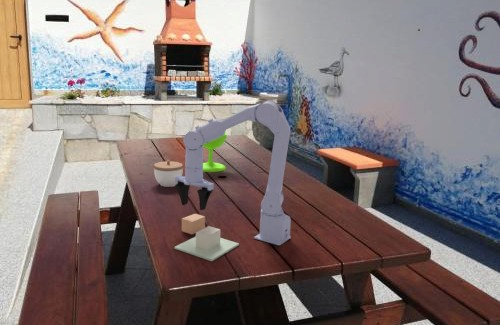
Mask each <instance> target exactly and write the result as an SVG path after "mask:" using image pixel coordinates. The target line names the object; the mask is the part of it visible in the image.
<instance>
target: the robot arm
mask: <svg viewBox="0 0 500 325" xmlns="http://www.w3.org/2000/svg"><path fill="white" fill-rule="evenodd" d="M246 121H249V122H254V123H255V122H257V121H258V122H259V123H260V124H262V125H263V126H265V127H267V128H268V129H269V130H270V131H271V132H272V133H273V135H274V137H273V143H272V144H273V145H272V151H271V158H270V165H269V171H268V180H267V185H266V190H265V194H264V197H263V199H262V200H261V202H260V220H259V233H258V234H257V235H255V236H253V238H254V239H255V240H259V241H262V242H265V243H268V244H272V245H275V246H281V245H283V244H284V243H286V242H287V241H288V240H289V239H291V238H292V237H291V227H292V226H291V224H292V220H291V216H289V215H287V214H286V213H284V210H283V207H282V204H283V202H284V199H285V198H284V197H285V196H284V193H283V182H284V175H285V168H286V164H287V156H288V155H287V154H288V151H289V150H288V148H289V143H290V142H289V141H290V136H291V135H290V134H291V127H290V124H289V122H288V120H287V117H286V115H285V113H284V110H283V108H282V107H281V106H280V105H279V104H278V103H277V102H276V101H273V100H266V101H264V102H263V103H258V104H257V103H256V104H254V105H251V106H248V107H246V108H244V109H242V110H240V111H238V112H237V113H234V114H233V115H230V116H228V117H227V118H225V119H222V120H221V119H218V118H215V119H213V118H211V119H209V120H208V122H207V123H205V124H202V125H201V126H199V125H197V126H196V127H194V128H195V129H194V128H193V129H191V130H189V131H187V133H185V135H184V136H183V139H182V140H183V144H184V146H185V153H184V154H185V155H184V157H185V158H184V159H185V162H184V163H185V164H184V165H185V166H184V167H185V168H184V169H185V170H184V171H185V172H184V173H185V175H184V176H183V175H182V176H176V177H175V182H177V184H176V185H175V186H174V187H175V189H176V191H177V193H178V195H179V199H180V202H181V206H185V205H188V202H189V190H190V186H193V187H197V188H200V189H197V194H198V199H199V211H203V210H205V209H206V207H207V204H208V201H209V198H210V197H211V195H212V193H213V191H214V186H215V184H214V182H213V183H212V182H210V181H208V180H206V179H204V171H203V163H204V147H203V144H204V143H209V142H211V141H213V140H215V139H217V138H219V137H221V136H224V134H225V133H226V130H229V129H231V128H233V127H235V126H238V125H239V124H242V123H245V122H246Z"/></svg>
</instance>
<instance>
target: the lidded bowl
mask: <svg viewBox="0 0 500 325" xmlns="http://www.w3.org/2000/svg"><path fill="white" fill-rule="evenodd" d="M183 168H184V165H183V163H181V162H178V161H170V159H167V160H165V161H159V162H156V163H153V170H154V171H153V174H154V177H155V180H156V181H157V182H156V183H158V184H160V186H161V187H166V188H167V187H168V188H169V187H170V188H171V187H175V185H176V184H177V182H175V177H176V176H183Z"/></svg>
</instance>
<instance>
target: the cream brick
mask: <svg viewBox="0 0 500 325" xmlns="http://www.w3.org/2000/svg"><path fill="white" fill-rule="evenodd" d="M195 237H196V247H199V248H202V249H205V250H209V249H211V248H212V247H214V246H216V245H218V244H220V238H221V229H220V228H216V227H213V226H209V225H208V226H205V228H204V229H202V230H200V231H198V232H196V233H195Z"/></svg>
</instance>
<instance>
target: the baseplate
mask: <svg viewBox="0 0 500 325" xmlns="http://www.w3.org/2000/svg"><path fill="white" fill-rule="evenodd" d="M239 246H240V243H239V242H237V241H232V240H229V239H226V238H223V237H220V244H218V245H216V246H214V247H212V248H211V249H209V250H205V249H202V248H199V247H196V236H194V237H192V238H190V239H188V240H185V241H184V242H181V243H179V244H178V245H176V246H174V249H175V250H178V251H181V252H183V253H185V254H189V255H192V256H195V257H197V258H201V259H203V260H206V261H209V262H213V261H215V260H217V259H218V258H220V257H222V256H223V255H225V254H226V253H228V252H230V251H232V250H233V249H235V248H238V247H239Z"/></svg>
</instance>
